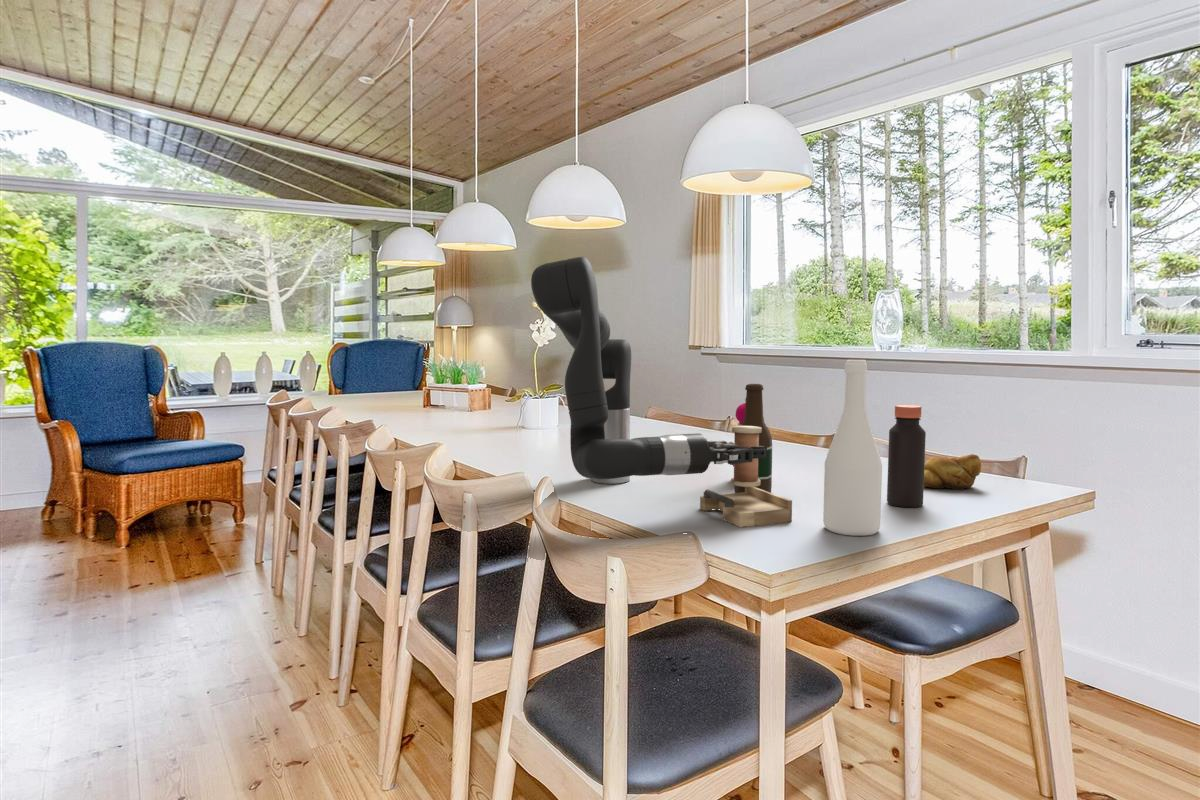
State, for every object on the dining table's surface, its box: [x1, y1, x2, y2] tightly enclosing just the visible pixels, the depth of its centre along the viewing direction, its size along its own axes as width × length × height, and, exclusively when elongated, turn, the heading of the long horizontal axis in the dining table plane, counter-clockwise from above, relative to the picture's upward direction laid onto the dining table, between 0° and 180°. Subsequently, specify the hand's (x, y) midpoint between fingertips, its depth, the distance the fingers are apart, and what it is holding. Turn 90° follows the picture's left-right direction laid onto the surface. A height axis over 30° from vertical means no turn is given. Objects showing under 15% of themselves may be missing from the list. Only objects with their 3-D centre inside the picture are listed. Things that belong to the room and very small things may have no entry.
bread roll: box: [924, 453, 982, 490], centre depth 166 cm, size 13×10×8 cm
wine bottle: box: [822, 359, 883, 537], centre depth 129 cm, size 10×10×30 cm
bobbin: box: [730, 425, 762, 487], centre depth 142 cm, size 6×6×11 cm
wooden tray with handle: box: [699, 487, 793, 528], centre depth 141 cm, size 15×11×4 cm
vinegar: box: [886, 404, 927, 509], centre depth 148 cm, size 7×7×20 cm
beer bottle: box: [733, 383, 773, 493], centre depth 155 cm, size 8×8×24 cm
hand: (758, 449), depth 143 cm, fingers closed on bobbin, 4 cm apart
